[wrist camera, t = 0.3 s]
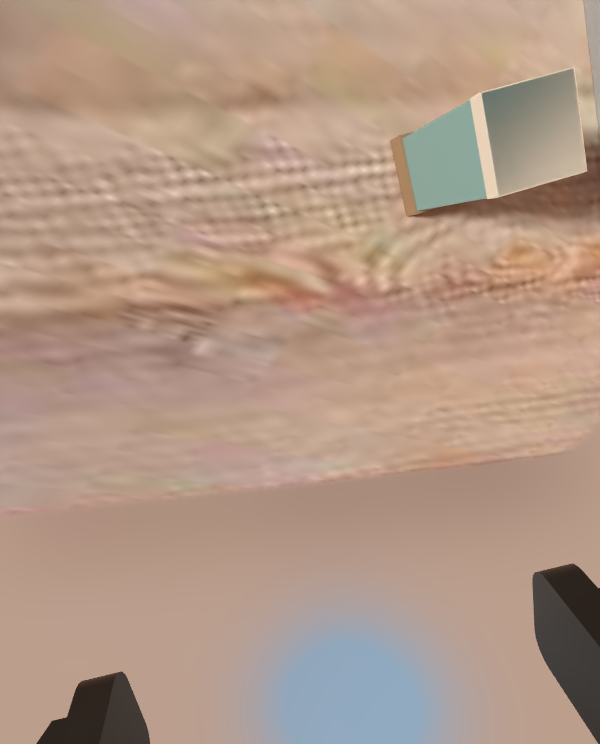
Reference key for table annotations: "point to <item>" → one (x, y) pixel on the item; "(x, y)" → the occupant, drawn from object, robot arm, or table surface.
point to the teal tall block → (494, 145)
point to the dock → (594, 46)
